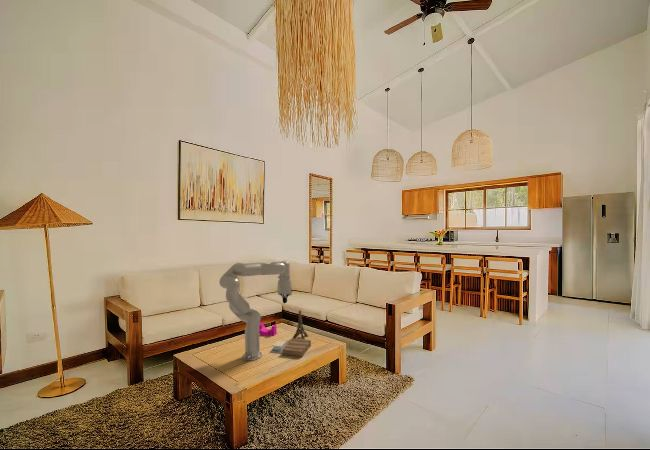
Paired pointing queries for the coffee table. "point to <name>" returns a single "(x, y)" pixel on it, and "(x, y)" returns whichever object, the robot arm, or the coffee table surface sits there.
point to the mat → (277, 351)
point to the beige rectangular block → (279, 345)
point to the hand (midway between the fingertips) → (284, 302)
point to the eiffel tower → (300, 328)
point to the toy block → (267, 332)
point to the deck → (296, 347)
